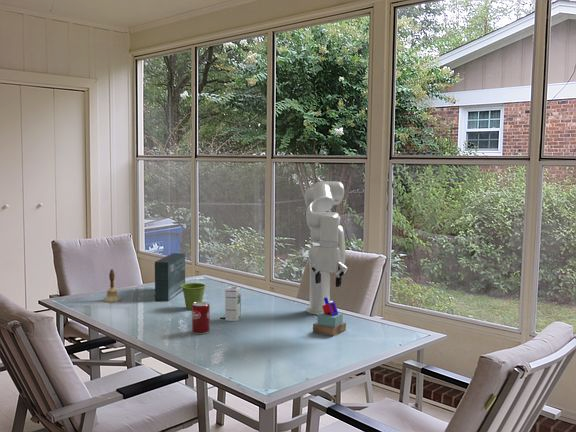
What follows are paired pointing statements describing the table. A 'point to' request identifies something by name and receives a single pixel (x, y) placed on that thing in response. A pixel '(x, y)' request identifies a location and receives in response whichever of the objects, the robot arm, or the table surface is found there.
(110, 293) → the hand bell
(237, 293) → the syrup box
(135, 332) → the table surface
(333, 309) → the dreidel
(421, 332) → the table surface
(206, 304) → the soda can
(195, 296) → the plant pot
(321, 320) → the tower top block
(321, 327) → the tower base block
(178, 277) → the dark green box
